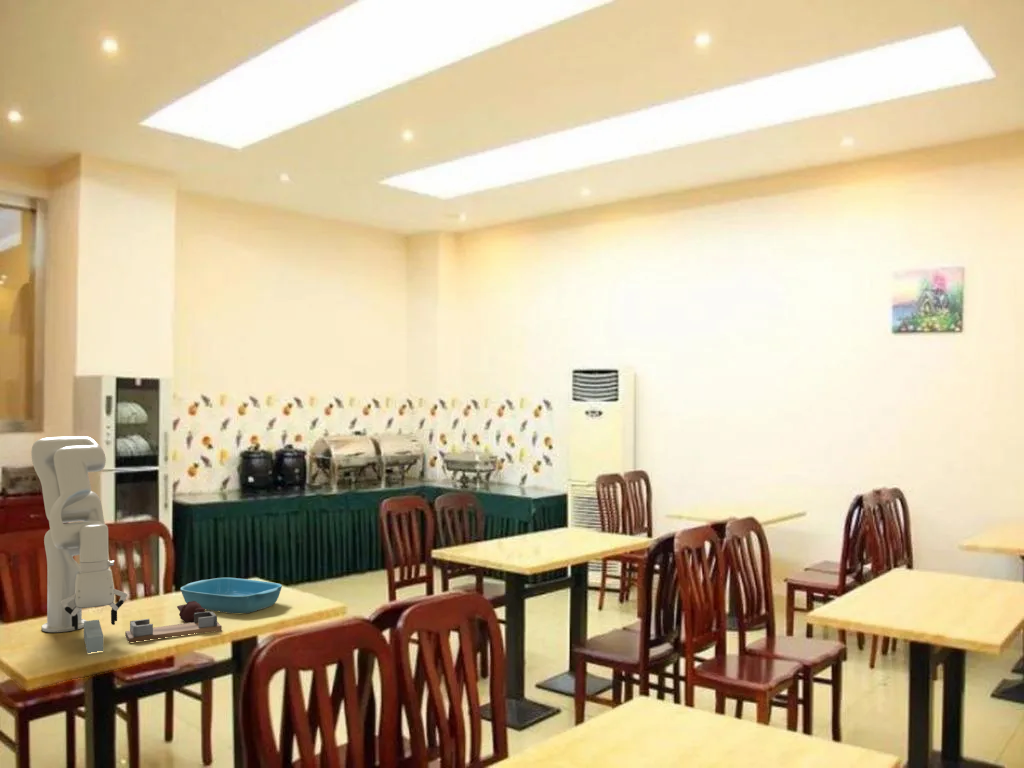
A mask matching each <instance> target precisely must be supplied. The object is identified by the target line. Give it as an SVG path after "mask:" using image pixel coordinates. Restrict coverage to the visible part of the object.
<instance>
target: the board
mask: <svg viewBox="0 0 1024 768" xmlns="http://www.w3.org/2000/svg"><path fill="white" fill-rule="evenodd" d="M222 628H223V627H222V625H221V624H220V623H219V622H218V621H217V626H213V627H206V628H198V623H194V622H192V623H190V622H188V623H185V622H183V623H179V624H171V625H162V626H156V627H154V626H153V635H147V636H139V637H133V636H132V634H131V632H130V630H125V633H124V635H125V636H126V637H125V638H126V640H127V642H128V641H129V642H128V644H129V643H130V642H136V641H144V640H150V639H158V638H165V637H172V636H181V635H188V634H194V633H195V634H196V633H203V634H206V633H205V632H210V633H214V631H217V632H221V631H222ZM196 635H197V634H196ZM188 636H189V635H188ZM181 637H182V636H181ZM130 644H131V643H130Z"/></svg>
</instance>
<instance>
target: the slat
mask: <svg viewBox="0 0 1024 768" xmlns="http://www.w3.org/2000/svg"><path fill="white" fill-rule="evenodd" d="M83 640H84V645H85V644H86V645H85V649H87V650H86V654H87V653H91V652H97V651H103V652H104V633H103V629H102V625H101V623H100V619H92V620H86V621H84V627H83Z"/></svg>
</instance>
